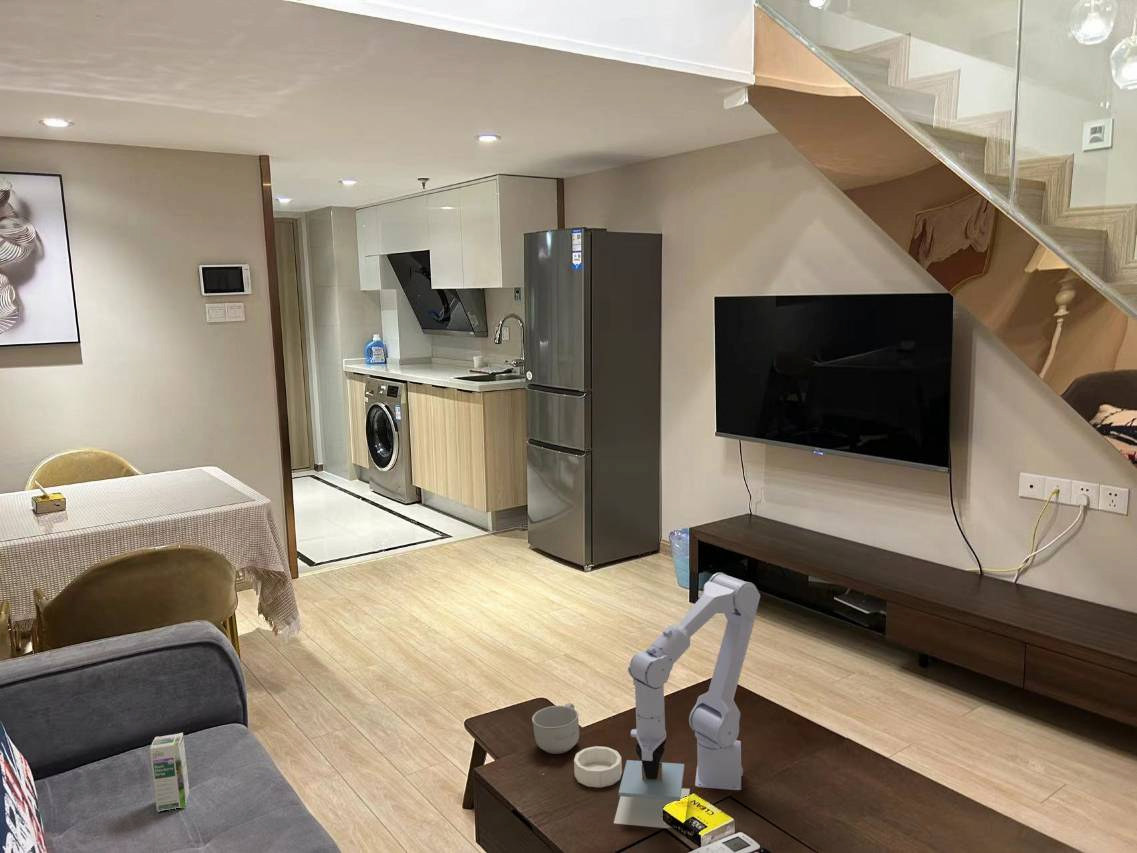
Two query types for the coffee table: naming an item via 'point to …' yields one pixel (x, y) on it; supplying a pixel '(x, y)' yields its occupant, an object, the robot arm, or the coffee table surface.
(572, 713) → the teacup
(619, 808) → the mat
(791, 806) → the coffee table surface
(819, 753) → the coffee table surface
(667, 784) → the cover
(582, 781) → the bowl
